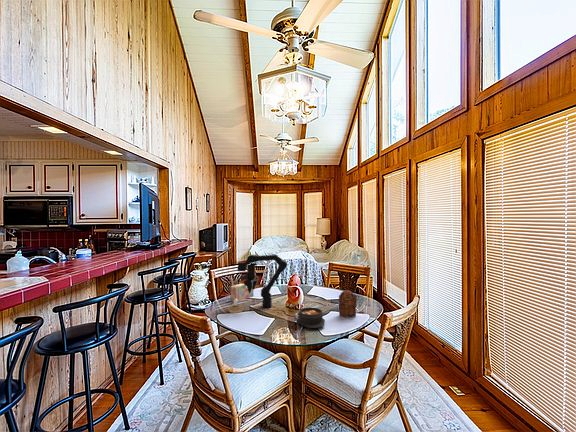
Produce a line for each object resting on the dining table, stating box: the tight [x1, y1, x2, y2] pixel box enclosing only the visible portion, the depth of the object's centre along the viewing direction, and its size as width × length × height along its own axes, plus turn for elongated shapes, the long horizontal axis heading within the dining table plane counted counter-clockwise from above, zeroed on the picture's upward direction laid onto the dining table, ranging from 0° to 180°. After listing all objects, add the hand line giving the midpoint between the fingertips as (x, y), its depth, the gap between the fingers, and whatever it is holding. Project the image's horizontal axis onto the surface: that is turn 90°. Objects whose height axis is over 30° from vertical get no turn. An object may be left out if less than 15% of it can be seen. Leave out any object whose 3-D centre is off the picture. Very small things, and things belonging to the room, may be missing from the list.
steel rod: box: [233, 298, 239, 307], centre depth 230 cm, size 3×3×9 cm
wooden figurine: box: [338, 289, 357, 319], centre depth 216 cm, size 12×6×18 cm, turn 95°
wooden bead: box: [228, 303, 244, 314], centre depth 230 cm, size 10×10×4 cm
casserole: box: [296, 307, 326, 329], centre depth 202 cm, size 25×19×8 cm
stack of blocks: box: [230, 283, 254, 302], centre depth 262 cm, size 21×6×12 cm, turn 145°
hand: (251, 291), depth 239 cm, fingers open, 9 cm apart
